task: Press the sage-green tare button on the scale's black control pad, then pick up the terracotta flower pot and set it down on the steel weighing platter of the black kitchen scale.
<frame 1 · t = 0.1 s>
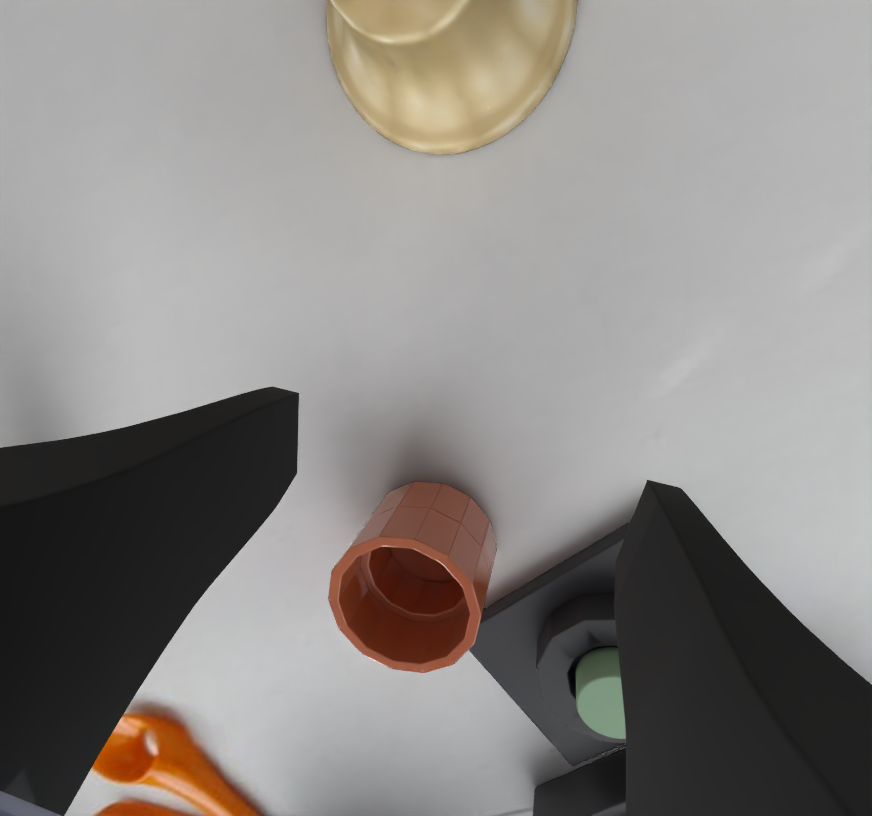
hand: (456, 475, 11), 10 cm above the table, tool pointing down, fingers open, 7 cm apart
hand bell: (448, 18, 18), on the table
tare button: (614, 692, 21), point 3 cm above the table, slide at 0.1 cm
terracotta flower pot: (434, 534, 24), on the table
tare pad: (609, 639, 23), on the table
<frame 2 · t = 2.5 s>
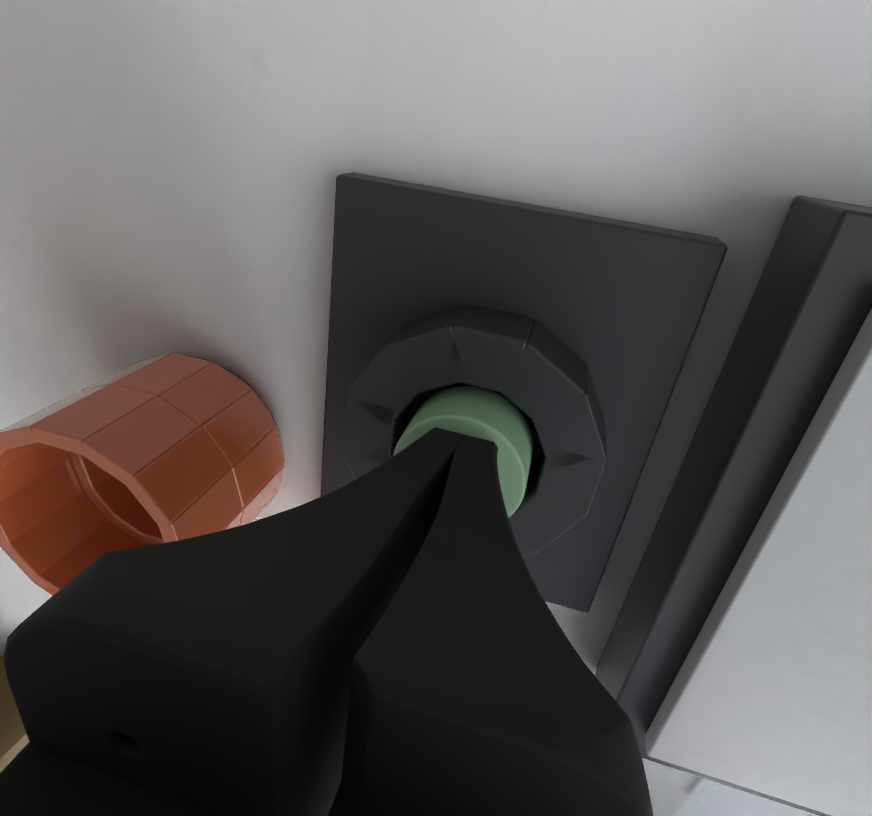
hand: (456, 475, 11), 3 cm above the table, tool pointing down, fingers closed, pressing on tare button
kendama: (45, 681, 26), on the table
tare button: (464, 458, 12), point 3 cm above the table, slide at -0.2 cm, touching gripper
terracotta flower pot: (210, 431, 17), on the table
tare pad: (484, 407, 14), on the table
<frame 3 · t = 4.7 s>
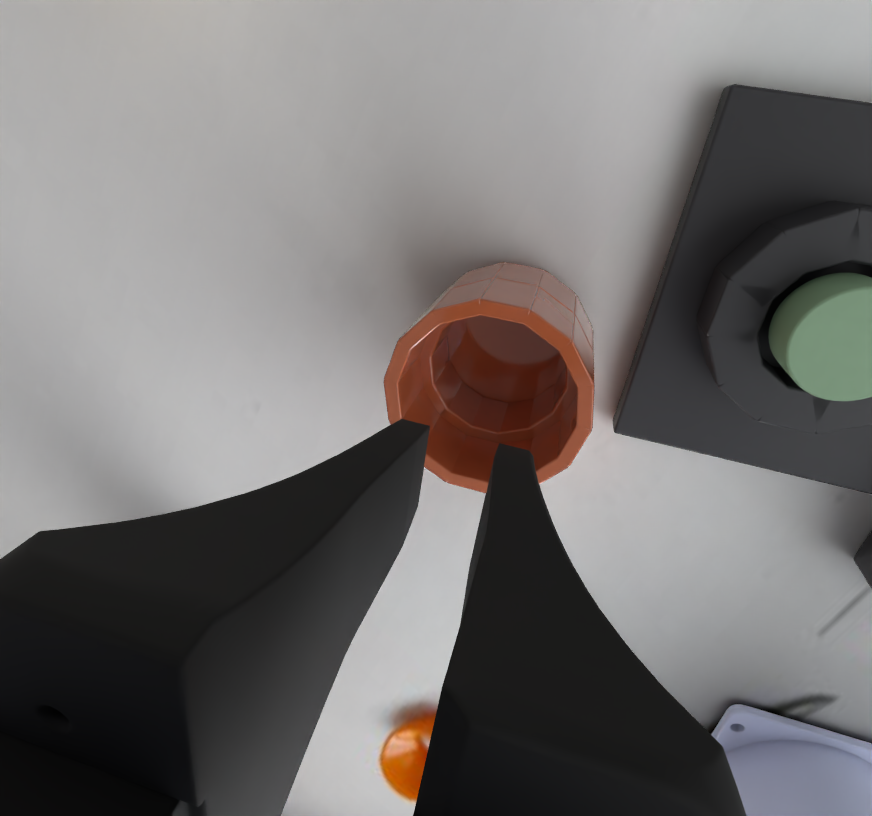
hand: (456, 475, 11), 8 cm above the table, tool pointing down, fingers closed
tare button: (841, 336, 13), point 3 cm above the table, slide at 0.1 cm
terracotta flower pot: (509, 341, 19), on the table
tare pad: (801, 304, 16), on the table
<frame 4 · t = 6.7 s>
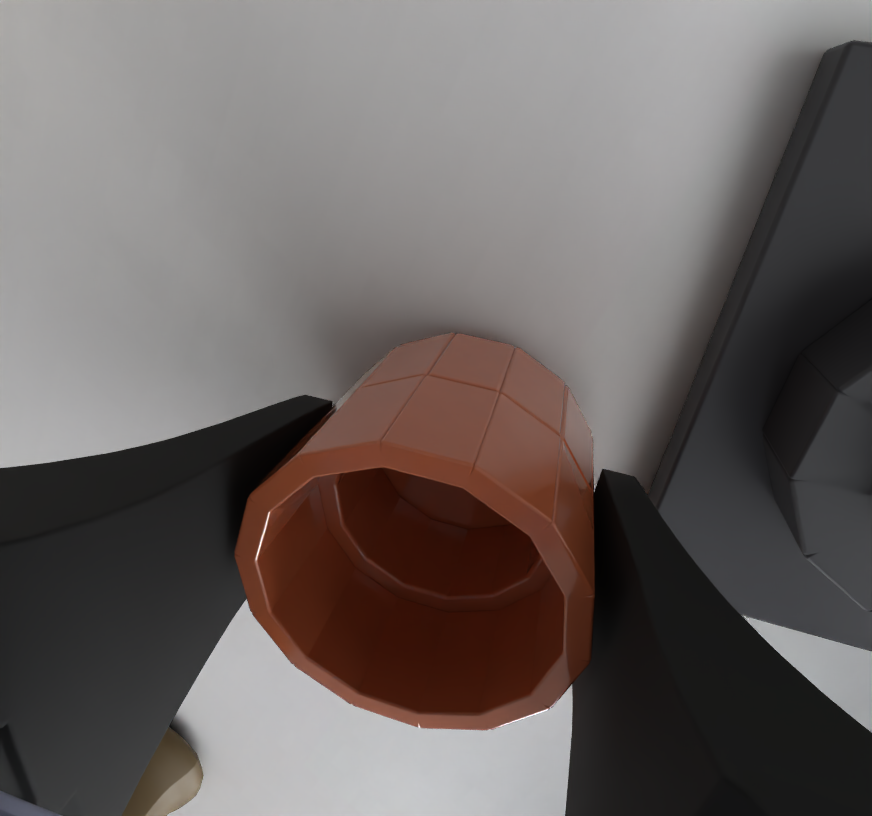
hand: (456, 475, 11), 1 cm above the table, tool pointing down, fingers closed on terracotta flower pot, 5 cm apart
kendama: (158, 736, 22), on the table
terracotta flower pot: (467, 441, 12), on the table, touching gripper
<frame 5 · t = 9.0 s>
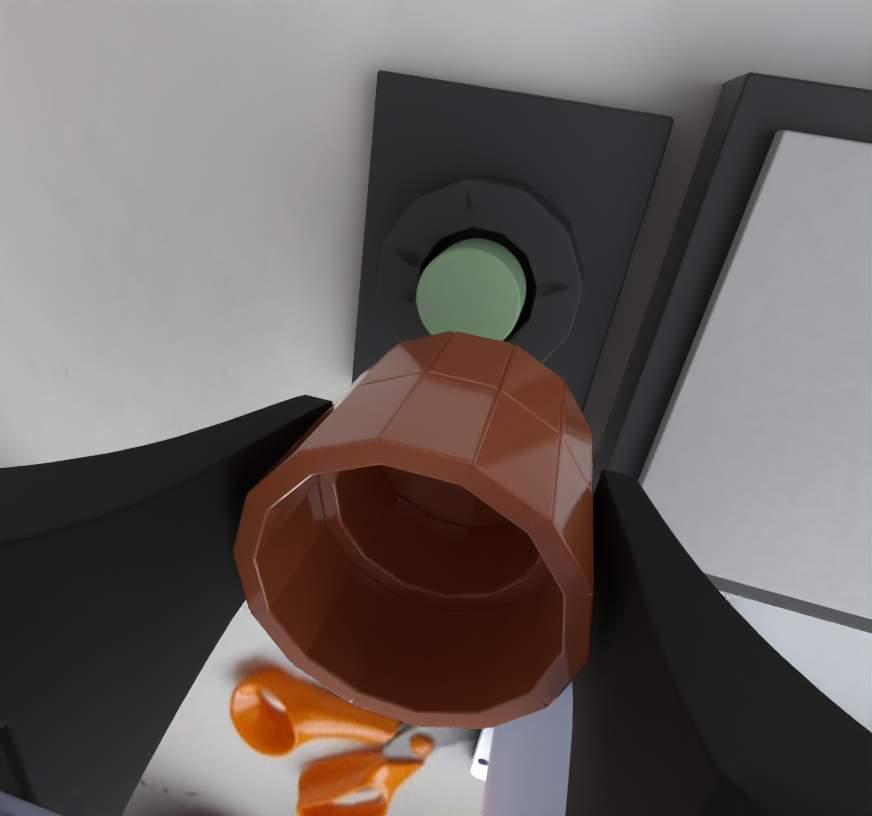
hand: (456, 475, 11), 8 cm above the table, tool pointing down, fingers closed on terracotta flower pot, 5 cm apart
tare button: (472, 295, 15), point 3 cm above the table, slide at 0.1 cm
terracotta flower pot: (467, 440, 12), point 7 cm above the table, touching gripper
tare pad: (489, 272, 18), on the table
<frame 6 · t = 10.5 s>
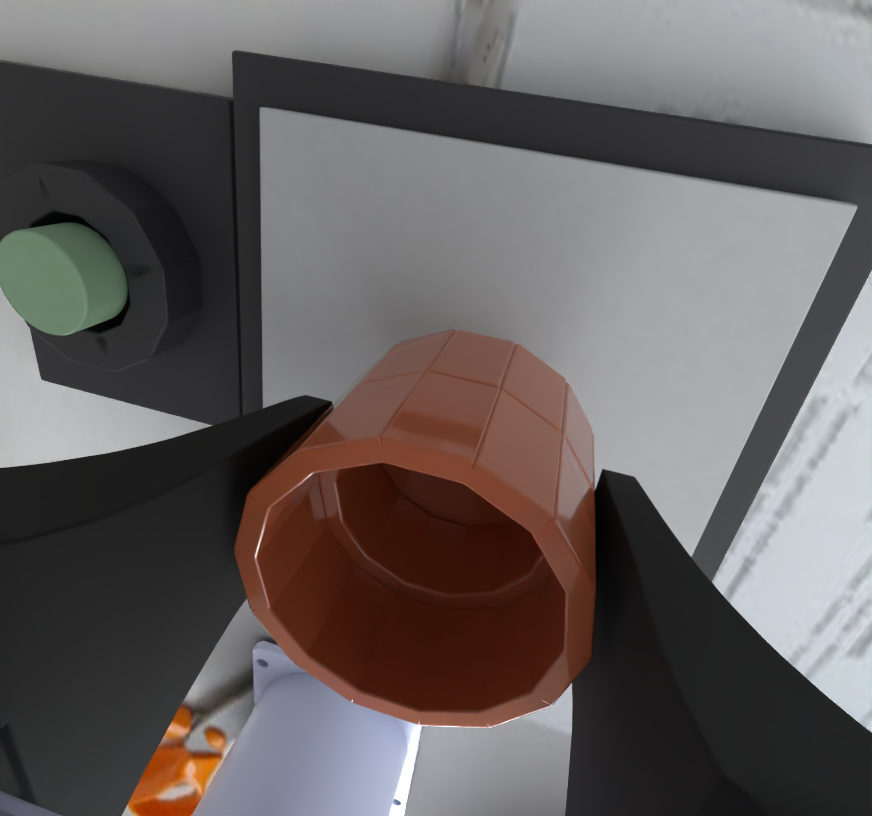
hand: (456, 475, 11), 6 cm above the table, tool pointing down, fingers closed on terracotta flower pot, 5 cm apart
tare button: (64, 278, 15), point 3 cm above the table, slide at 0.1 cm
scale: (498, 369, 16), on the table
terracotta flower pot: (468, 439, 12), point 4 cm above the table, touching gripper
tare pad: (139, 258, 18), on the table
when the fingers open (4 cm above the table, at t = 11.6 s): terracotta flower pot stays where it is, resting on scale.
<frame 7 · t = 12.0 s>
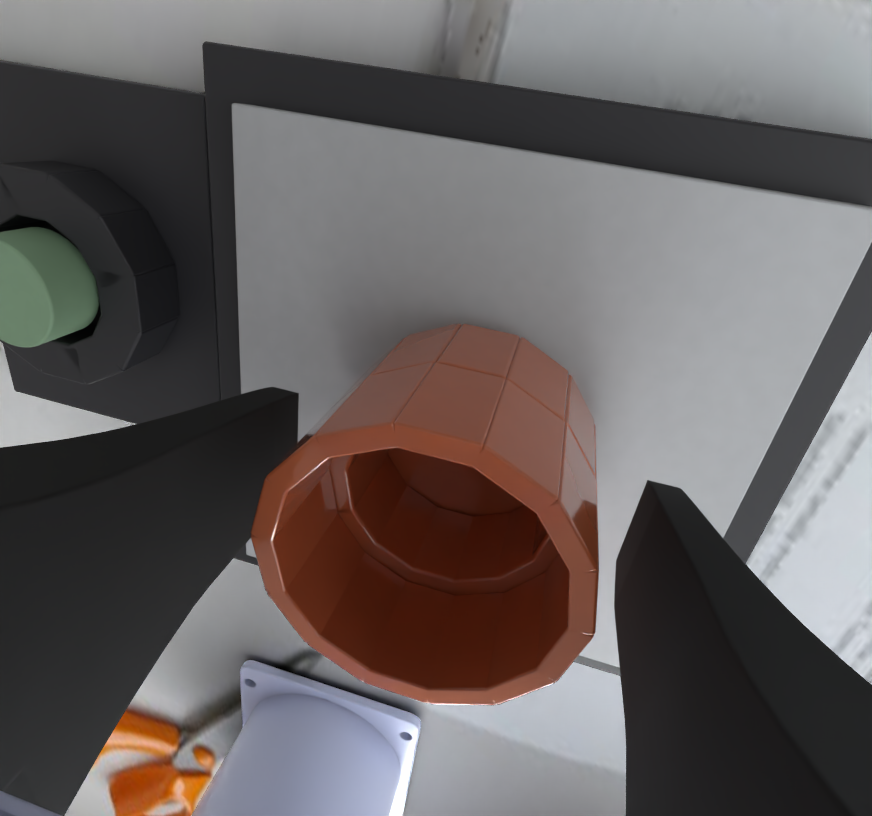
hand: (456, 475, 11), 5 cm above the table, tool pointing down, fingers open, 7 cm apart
tare button: (30, 287, 14), point 3 cm above the table, slide at 0.1 cm
scale: (493, 382, 15), on the table
terracotta flower pot: (473, 430, 13), point 3 cm above the table, touching scale
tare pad: (114, 264, 17), on the table
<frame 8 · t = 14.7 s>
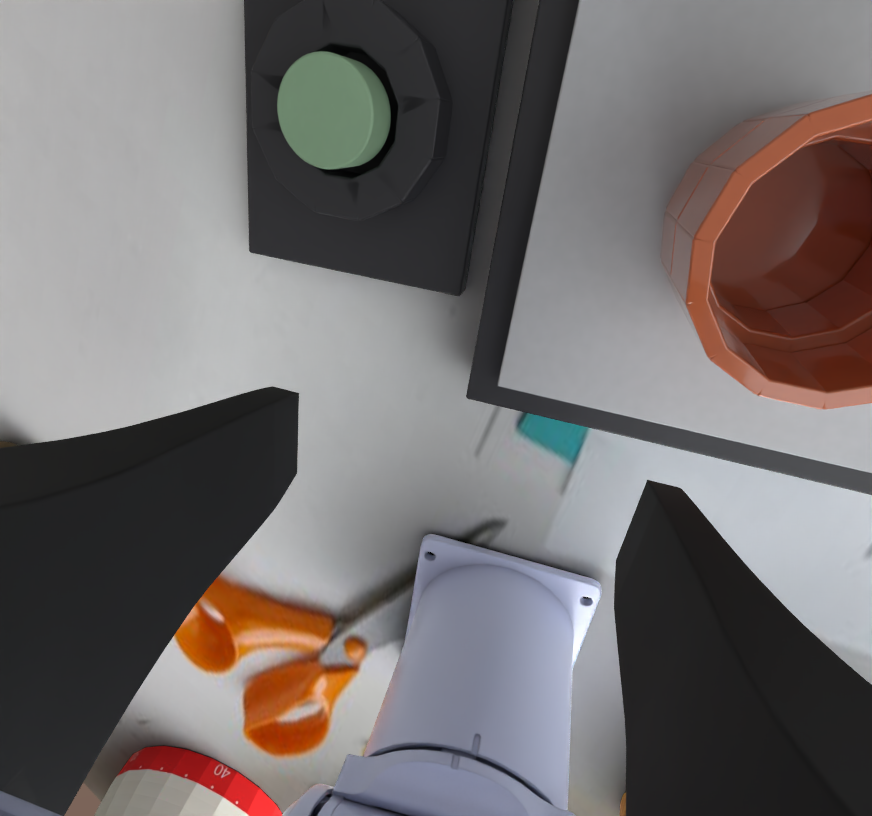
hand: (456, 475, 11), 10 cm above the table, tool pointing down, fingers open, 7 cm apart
kitchen timer: (208, 804, 42), on the table
tare button: (335, 113, 15), point 3 cm above the table, slide at 0.1 cm
scale: (744, 215, 17), on the table
terracotta flower pot: (773, 227, 14), point 3 cm above the table, touching scale
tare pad: (371, 117, 18), on the table
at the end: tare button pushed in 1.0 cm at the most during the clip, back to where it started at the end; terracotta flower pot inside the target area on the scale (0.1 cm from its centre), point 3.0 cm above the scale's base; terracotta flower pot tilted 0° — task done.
